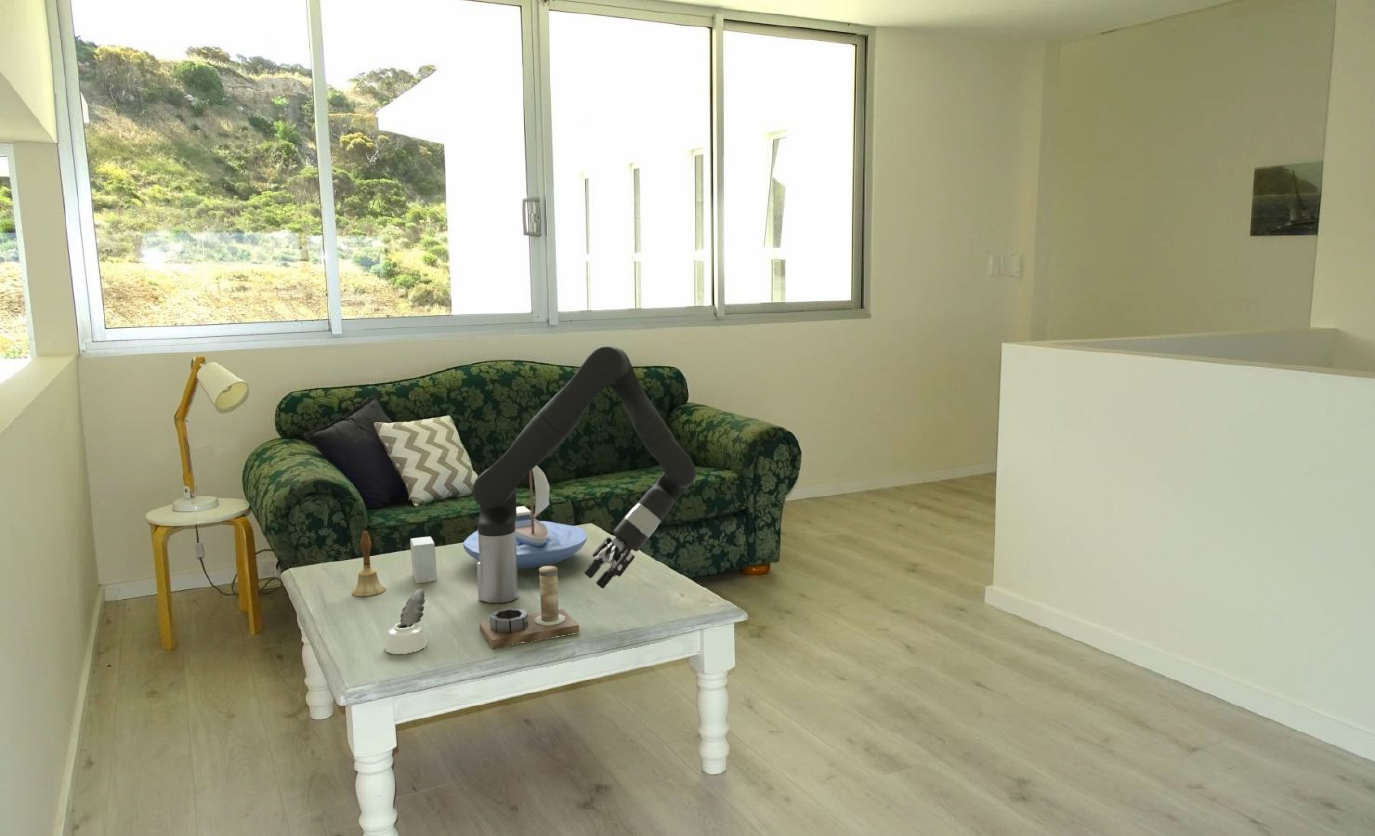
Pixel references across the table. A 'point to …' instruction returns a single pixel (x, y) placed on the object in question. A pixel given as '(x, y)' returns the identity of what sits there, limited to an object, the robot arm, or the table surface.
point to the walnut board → (530, 631)
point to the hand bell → (367, 572)
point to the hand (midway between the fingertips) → (593, 580)
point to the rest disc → (540, 622)
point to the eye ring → (509, 620)
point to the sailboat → (537, 532)
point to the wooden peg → (549, 594)
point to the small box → (423, 559)
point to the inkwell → (408, 628)
